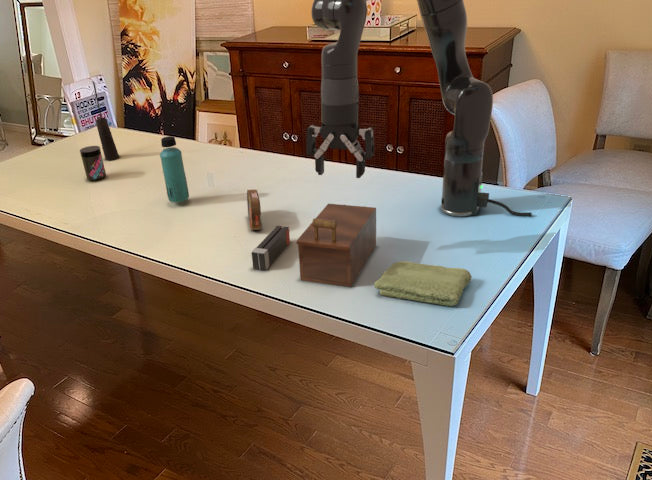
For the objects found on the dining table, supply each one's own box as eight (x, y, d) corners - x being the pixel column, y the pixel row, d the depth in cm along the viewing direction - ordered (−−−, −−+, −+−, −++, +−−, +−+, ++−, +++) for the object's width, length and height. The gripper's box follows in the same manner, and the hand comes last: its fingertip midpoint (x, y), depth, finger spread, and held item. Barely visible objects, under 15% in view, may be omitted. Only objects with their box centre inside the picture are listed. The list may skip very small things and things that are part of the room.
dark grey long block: (278, 241, 158) (276, 224, 155) (290, 242, 156) (288, 226, 154) (253, 269, 146) (251, 251, 144) (265, 270, 145) (264, 253, 143)
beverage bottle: (194, 199, 187) (183, 134, 177) (183, 208, 182) (171, 141, 172) (175, 198, 190) (164, 133, 180) (164, 206, 185) (151, 140, 175)
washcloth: (393, 267, 141) (393, 254, 139) (472, 280, 132) (474, 267, 131) (371, 295, 131) (371, 282, 130) (456, 312, 123) (457, 298, 121)
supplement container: (86, 183, 209) (79, 153, 204) (87, 177, 215) (79, 147, 210) (106, 180, 210) (99, 150, 205) (106, 173, 216) (100, 144, 210)
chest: (351, 287, 135) (350, 248, 130) (300, 280, 140) (297, 242, 135) (376, 246, 150) (376, 210, 145) (329, 241, 155) (328, 206, 150)
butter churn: (97, 156, 234) (79, 79, 220) (122, 151, 236) (106, 75, 221) (98, 163, 227) (79, 84, 212) (124, 159, 228) (107, 80, 214)
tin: (247, 213, 175) (244, 185, 170) (258, 211, 175) (255, 183, 170) (252, 236, 162) (248, 206, 158) (263, 234, 162) (260, 204, 158)
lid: (348, 250, 129) (348, 226, 127) (296, 244, 134) (294, 221, 131) (376, 210, 145) (376, 188, 142) (328, 206, 150) (327, 185, 147)
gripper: (300, 102, 126) (303, 179, 134) (369, 104, 120) (367, 184, 129) (312, 93, 132) (314, 167, 140) (378, 95, 126) (376, 171, 134)
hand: (340, 175), depth 134 cm, fingers open, 8 cm apart
